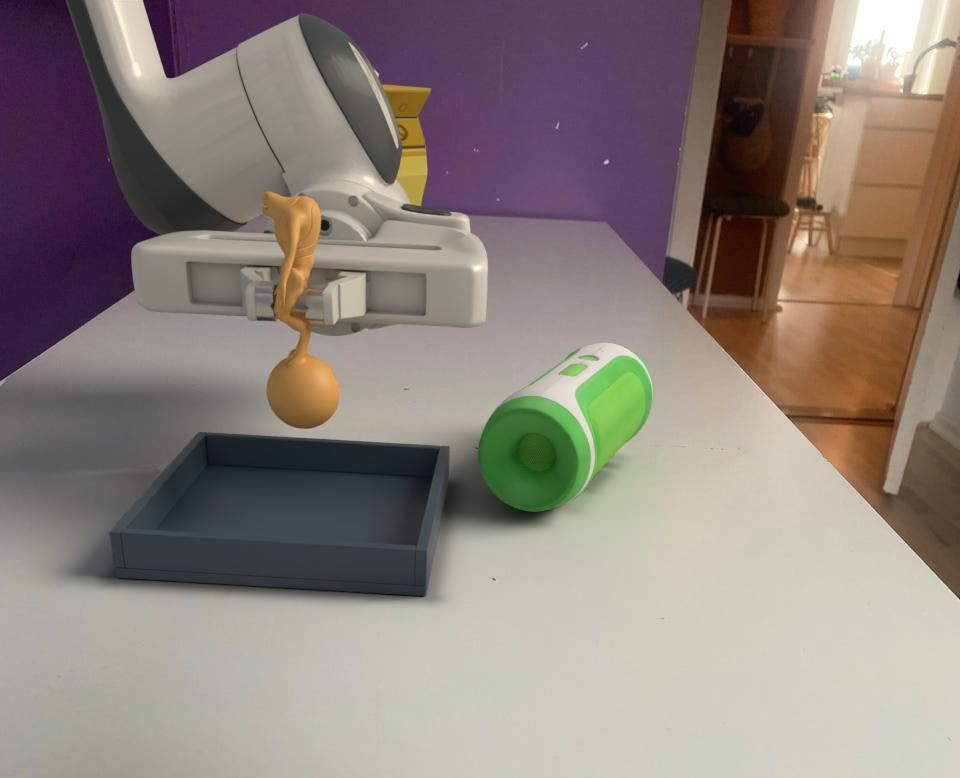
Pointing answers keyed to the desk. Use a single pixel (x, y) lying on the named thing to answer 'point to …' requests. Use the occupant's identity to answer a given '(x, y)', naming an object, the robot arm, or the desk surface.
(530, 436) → the speaker
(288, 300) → the figurine
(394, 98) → the container
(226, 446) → the tray
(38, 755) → the desk surface
